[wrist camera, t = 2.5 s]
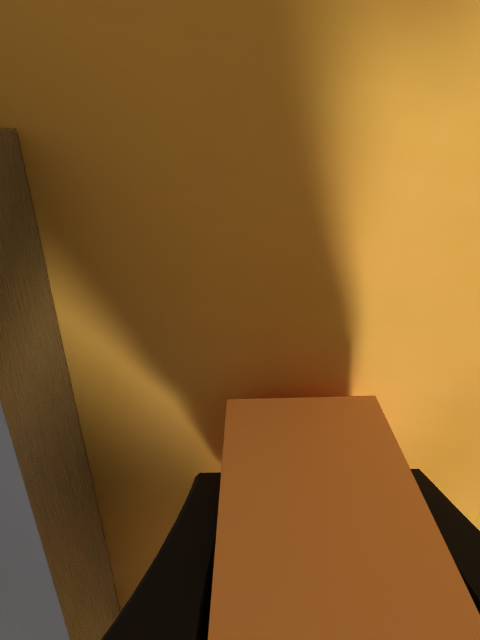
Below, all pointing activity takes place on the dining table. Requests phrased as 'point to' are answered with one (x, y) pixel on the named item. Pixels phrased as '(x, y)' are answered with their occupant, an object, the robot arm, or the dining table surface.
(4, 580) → the gray block with hole
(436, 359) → the dining table surface
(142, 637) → the robot arm
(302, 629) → the peach rectangular block
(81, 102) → the dining table surface
